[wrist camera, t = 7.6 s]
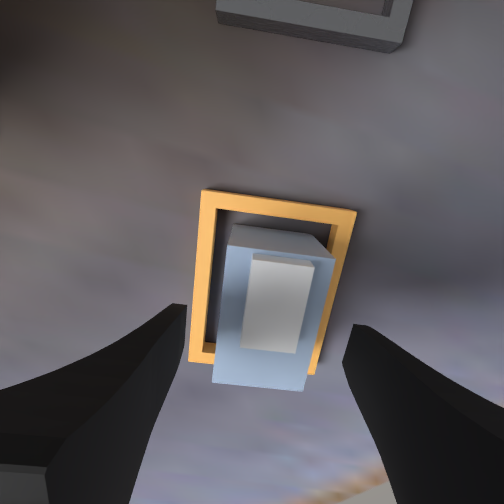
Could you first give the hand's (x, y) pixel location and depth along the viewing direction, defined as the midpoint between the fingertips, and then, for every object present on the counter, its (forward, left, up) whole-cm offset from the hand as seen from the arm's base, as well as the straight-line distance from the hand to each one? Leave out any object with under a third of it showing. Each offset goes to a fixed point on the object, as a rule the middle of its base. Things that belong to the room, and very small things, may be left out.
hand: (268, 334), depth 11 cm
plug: (0, 0, -5) cm, 5 cm away
